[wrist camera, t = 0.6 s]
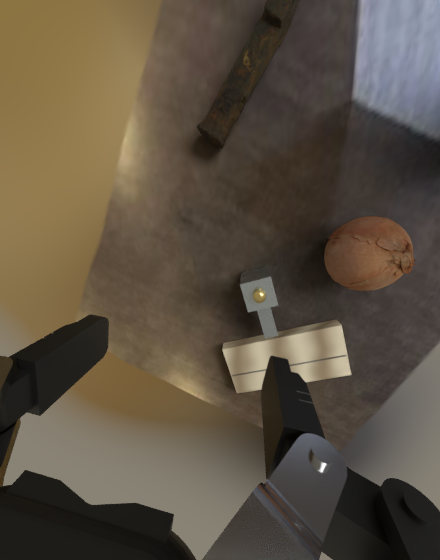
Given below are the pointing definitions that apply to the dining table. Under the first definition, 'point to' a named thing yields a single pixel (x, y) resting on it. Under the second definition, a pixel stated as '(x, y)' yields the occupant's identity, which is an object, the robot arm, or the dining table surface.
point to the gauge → (260, 297)
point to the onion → (368, 253)
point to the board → (289, 354)
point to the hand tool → (248, 70)
